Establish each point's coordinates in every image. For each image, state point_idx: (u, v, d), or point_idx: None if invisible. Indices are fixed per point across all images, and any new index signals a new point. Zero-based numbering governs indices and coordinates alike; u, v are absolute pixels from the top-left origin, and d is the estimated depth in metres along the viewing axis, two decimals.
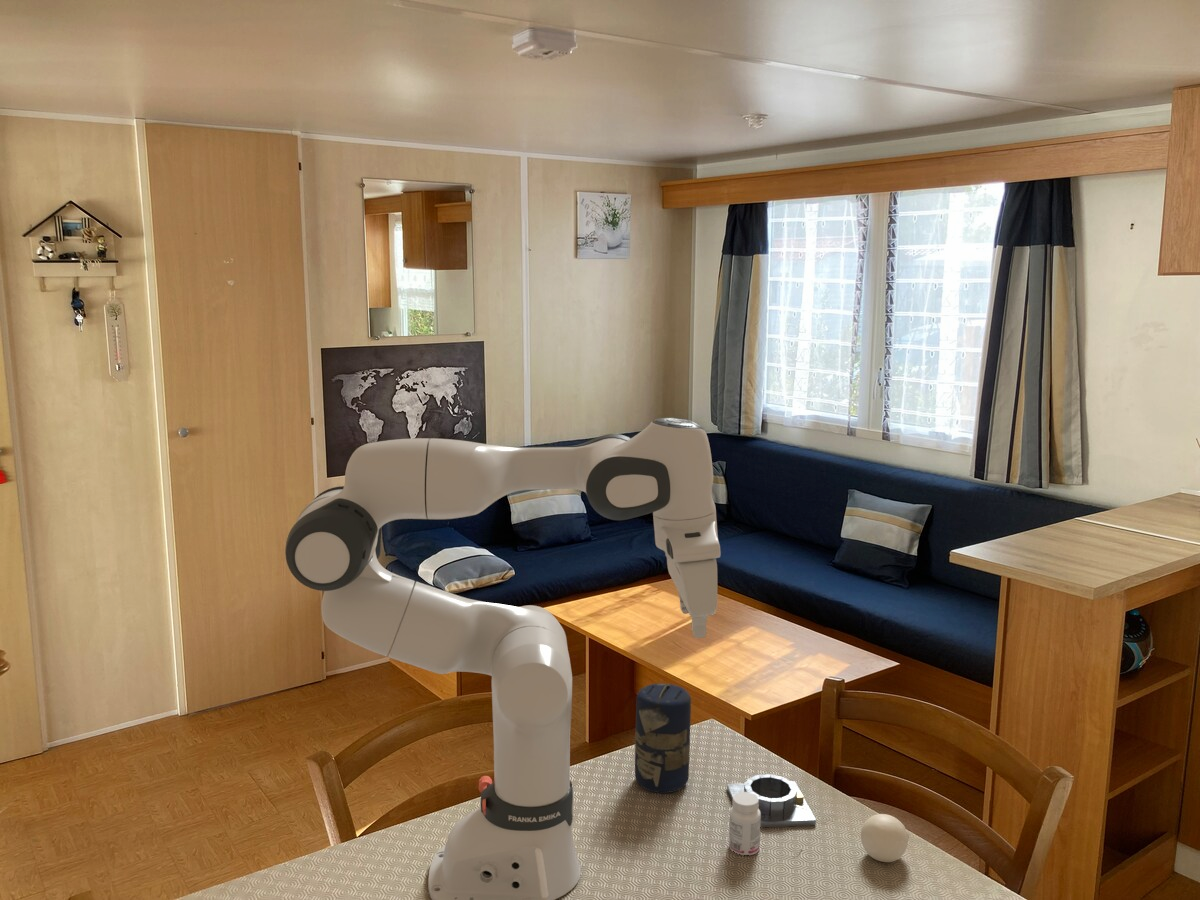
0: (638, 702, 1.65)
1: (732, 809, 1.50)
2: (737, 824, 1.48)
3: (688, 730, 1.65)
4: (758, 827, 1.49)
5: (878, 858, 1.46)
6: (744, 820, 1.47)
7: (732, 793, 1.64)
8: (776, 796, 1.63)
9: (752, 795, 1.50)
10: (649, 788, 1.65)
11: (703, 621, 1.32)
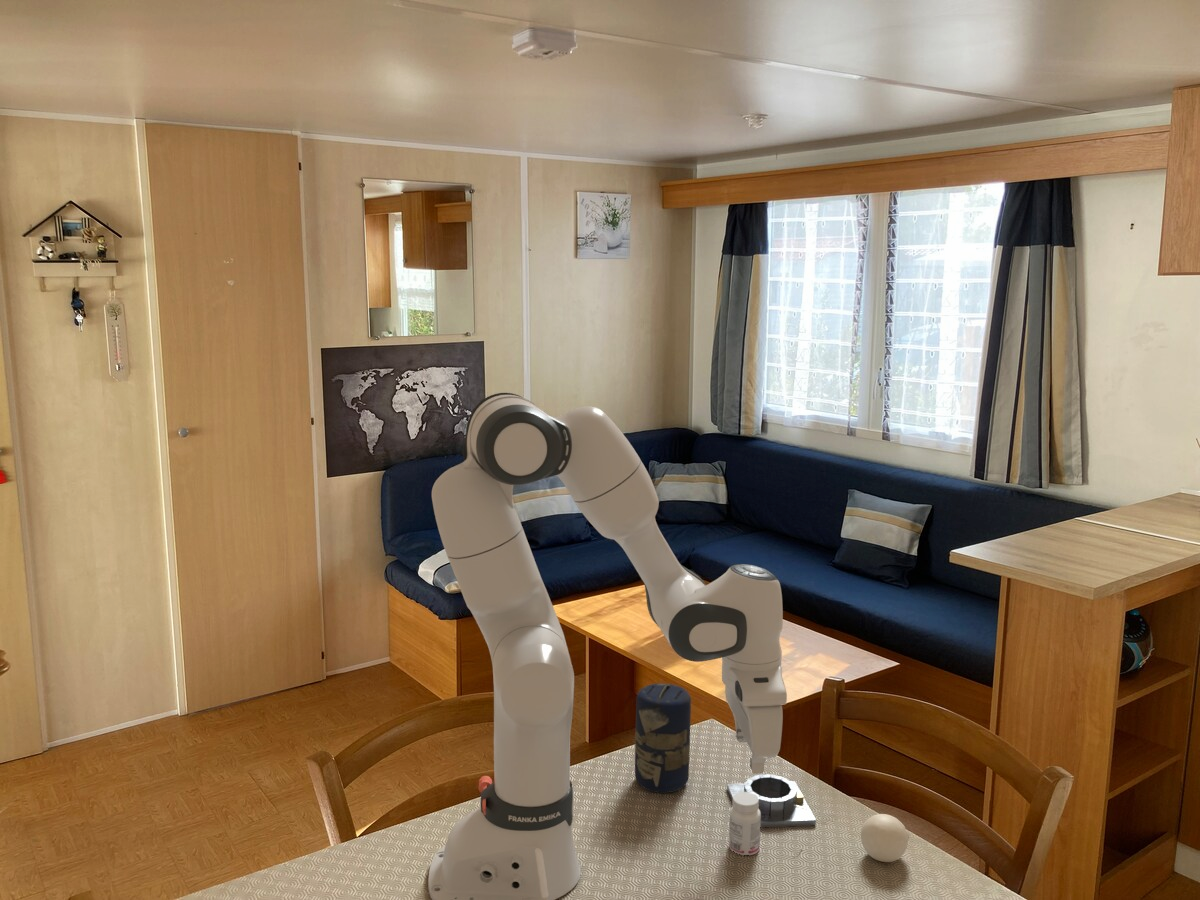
0: (638, 702, 1.65)
1: (732, 809, 1.50)
2: (737, 824, 1.48)
3: (688, 730, 1.65)
4: (758, 827, 1.49)
5: (878, 858, 1.46)
6: (744, 820, 1.47)
7: (732, 793, 1.64)
8: (776, 796, 1.63)
9: (752, 795, 1.50)
10: (649, 788, 1.65)
11: (763, 759, 1.41)
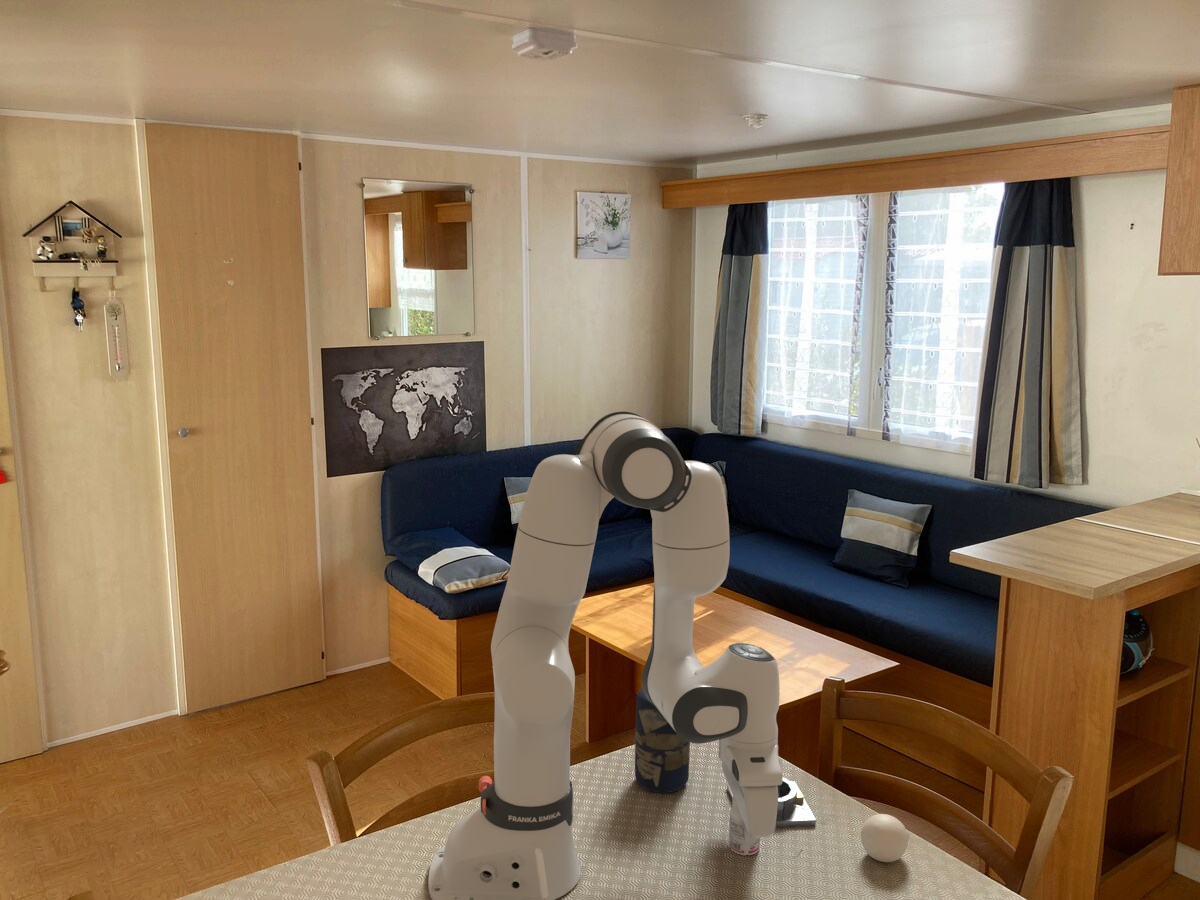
0: (638, 702, 1.65)
1: (732, 809, 1.50)
2: (737, 824, 1.48)
3: None
4: None
5: (878, 858, 1.46)
6: None
7: None
8: None
9: None
10: (649, 788, 1.65)
11: None
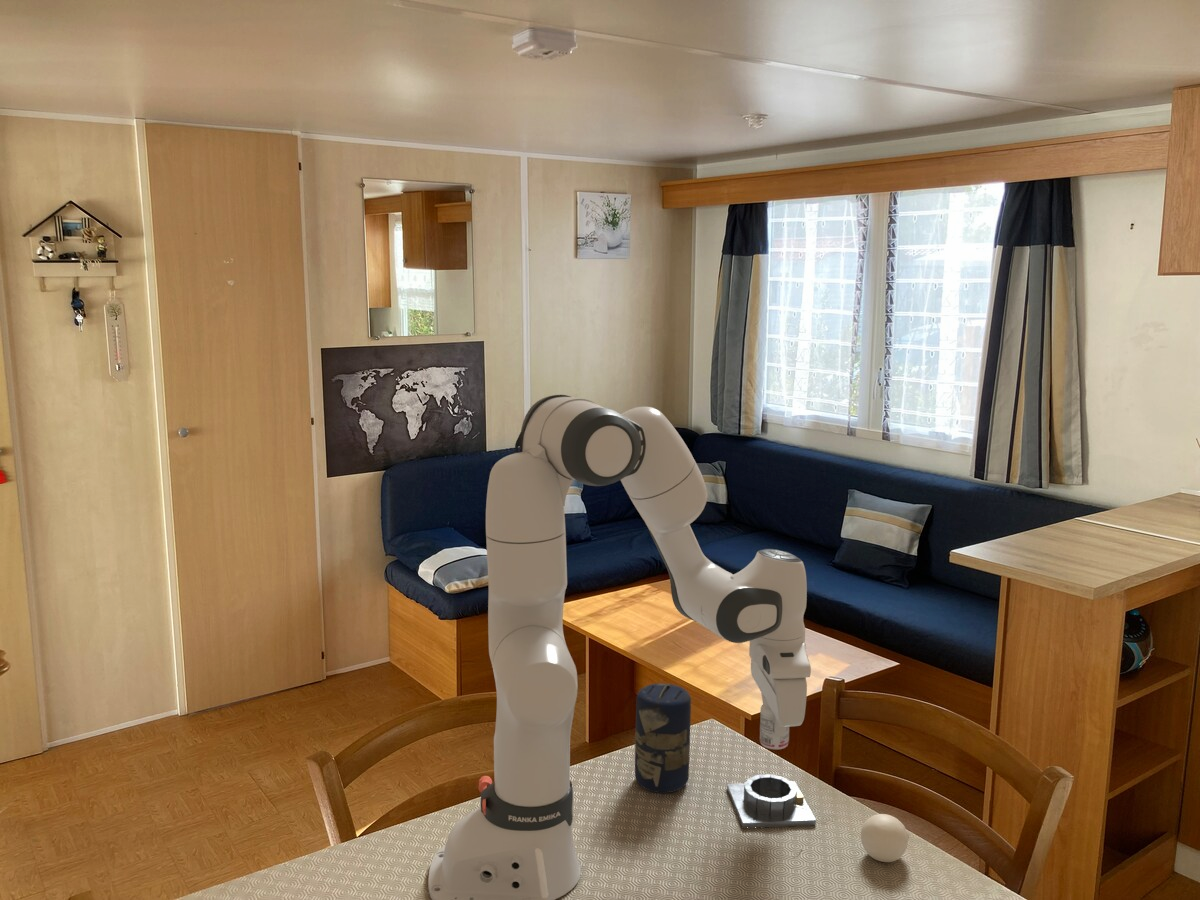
0: (638, 702, 1.65)
1: (762, 706, 1.59)
2: (768, 719, 1.57)
3: (688, 730, 1.65)
4: None
5: (878, 858, 1.46)
6: None
7: (732, 793, 1.64)
8: (776, 796, 1.63)
9: None
10: (649, 788, 1.65)
11: None
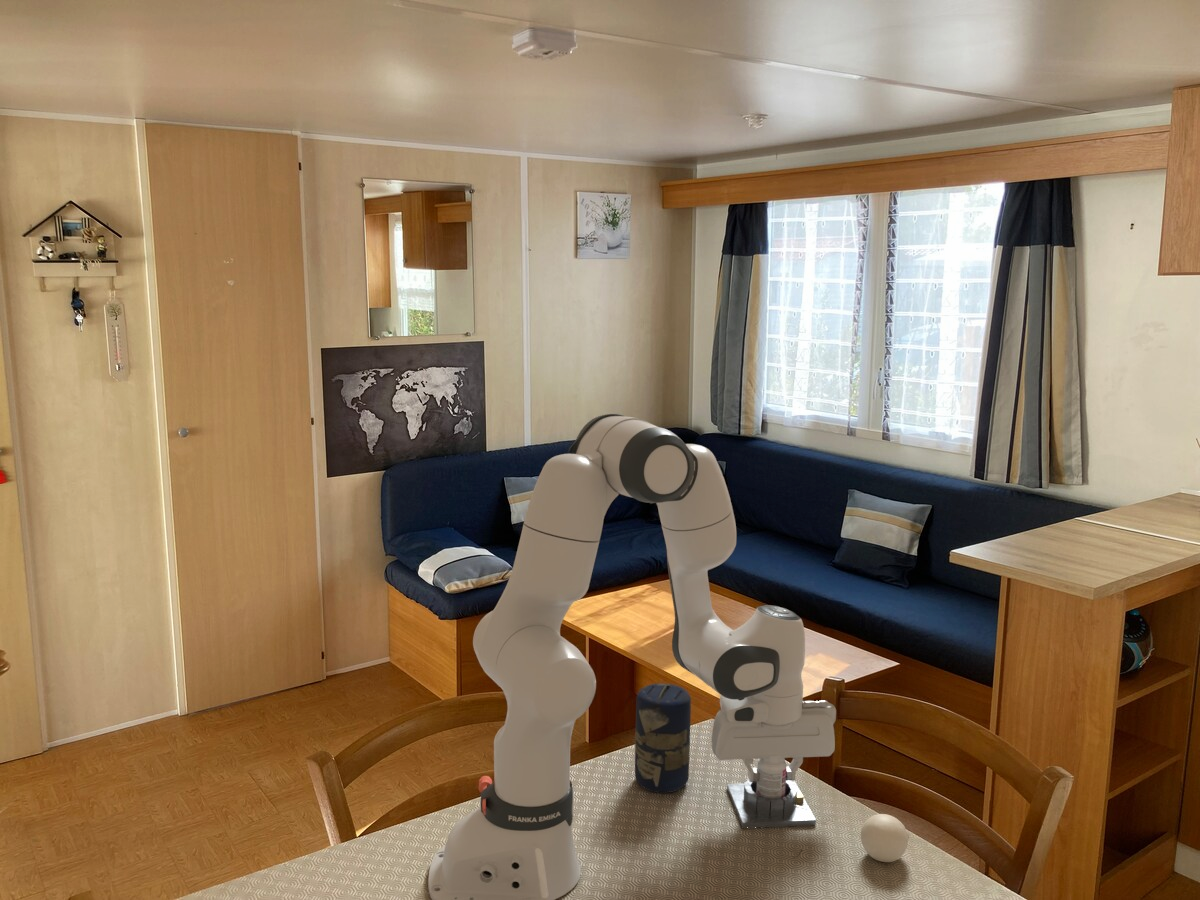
0: (638, 702, 1.65)
1: None
2: None
3: (688, 730, 1.65)
4: (765, 778, 1.59)
5: (878, 858, 1.46)
6: (758, 761, 1.61)
7: (732, 793, 1.64)
8: None
9: None
10: (649, 788, 1.65)
11: None
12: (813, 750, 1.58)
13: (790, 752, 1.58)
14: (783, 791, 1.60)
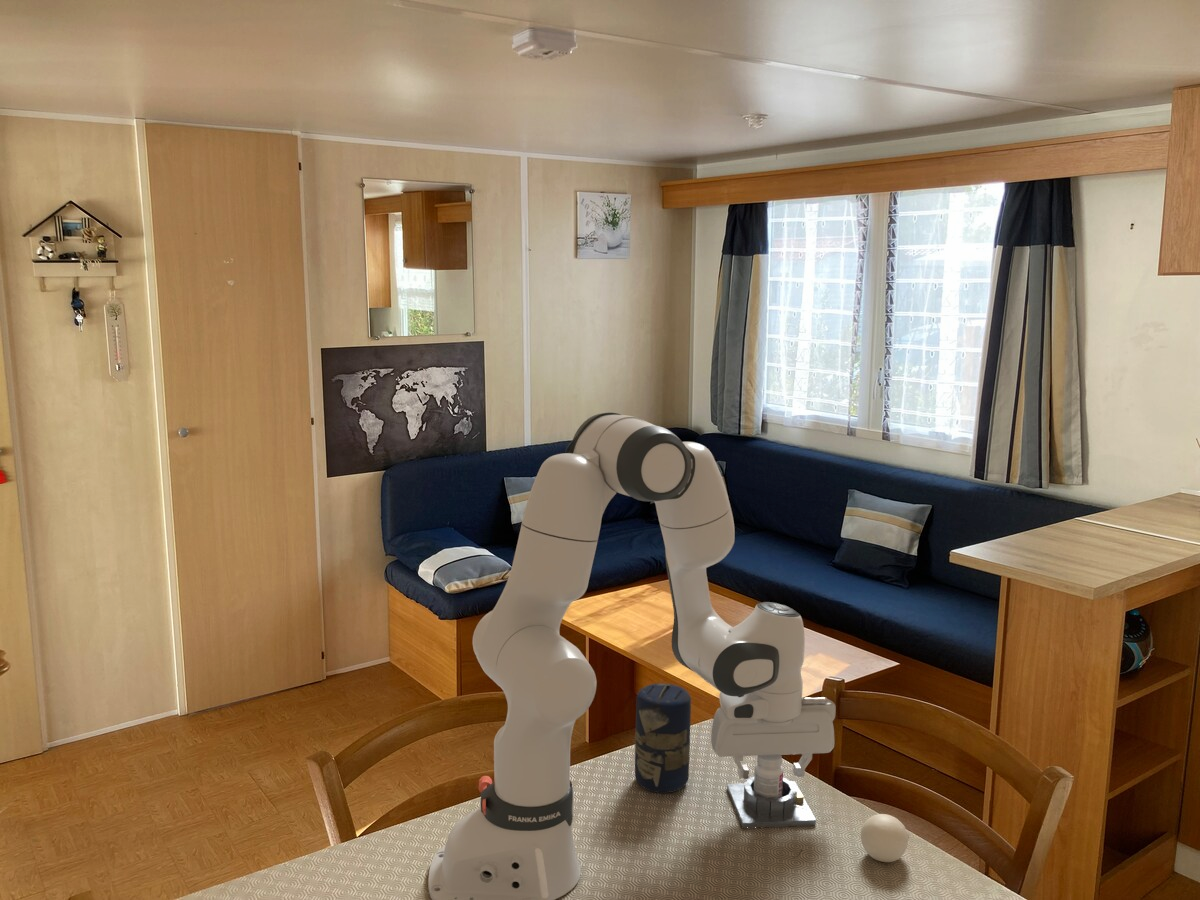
0: (638, 702, 1.65)
1: None
2: None
3: (688, 730, 1.65)
4: (762, 783, 1.59)
5: (878, 858, 1.46)
6: None
7: (732, 793, 1.64)
8: None
9: (775, 758, 1.59)
10: (649, 788, 1.65)
11: (736, 764, 1.59)
12: (813, 747, 1.59)
13: (790, 749, 1.58)
14: (780, 796, 1.60)
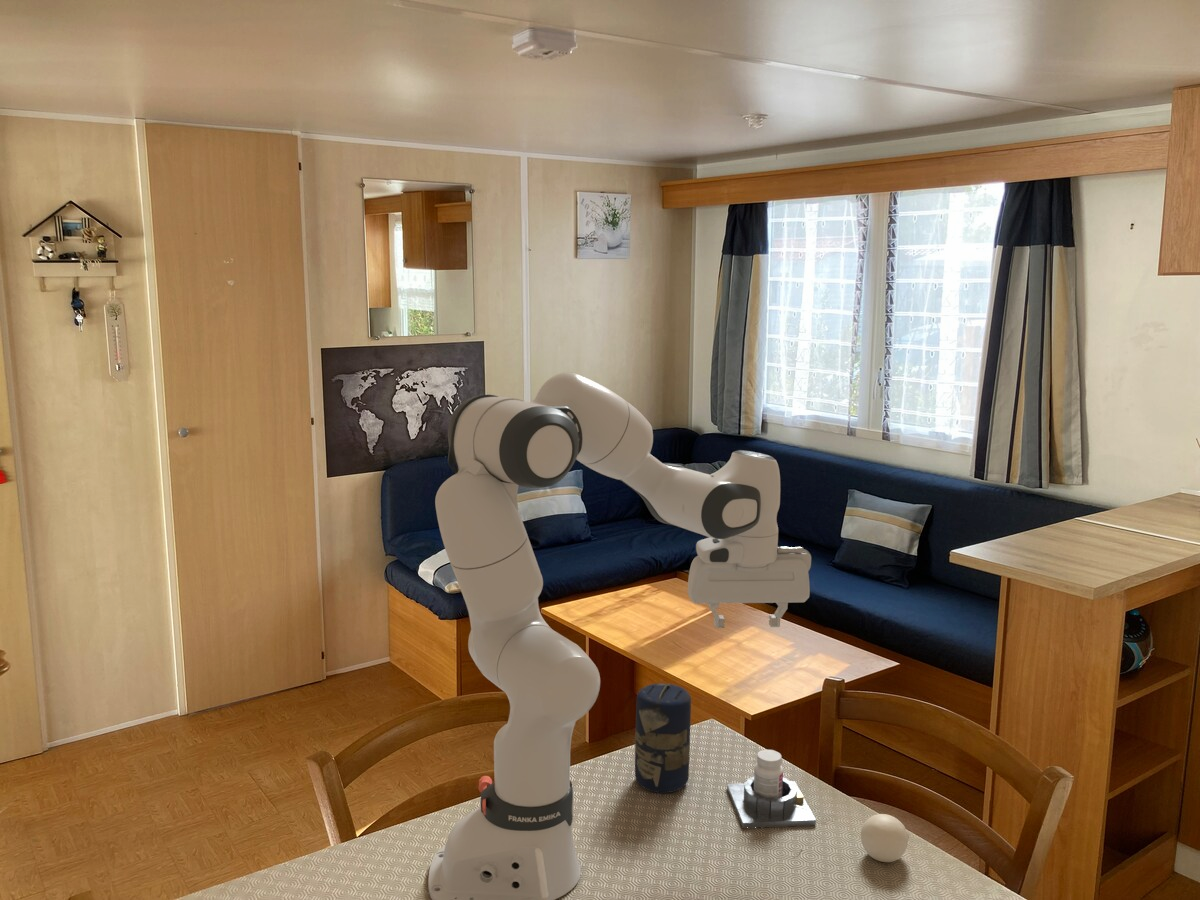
0: (638, 702, 1.65)
1: None
2: None
3: (688, 730, 1.65)
4: (761, 783, 1.59)
5: (878, 858, 1.46)
6: None
7: (732, 793, 1.64)
8: None
9: (775, 758, 1.59)
10: (649, 788, 1.65)
11: None
12: (788, 595, 1.60)
13: (765, 597, 1.60)
14: (780, 796, 1.60)
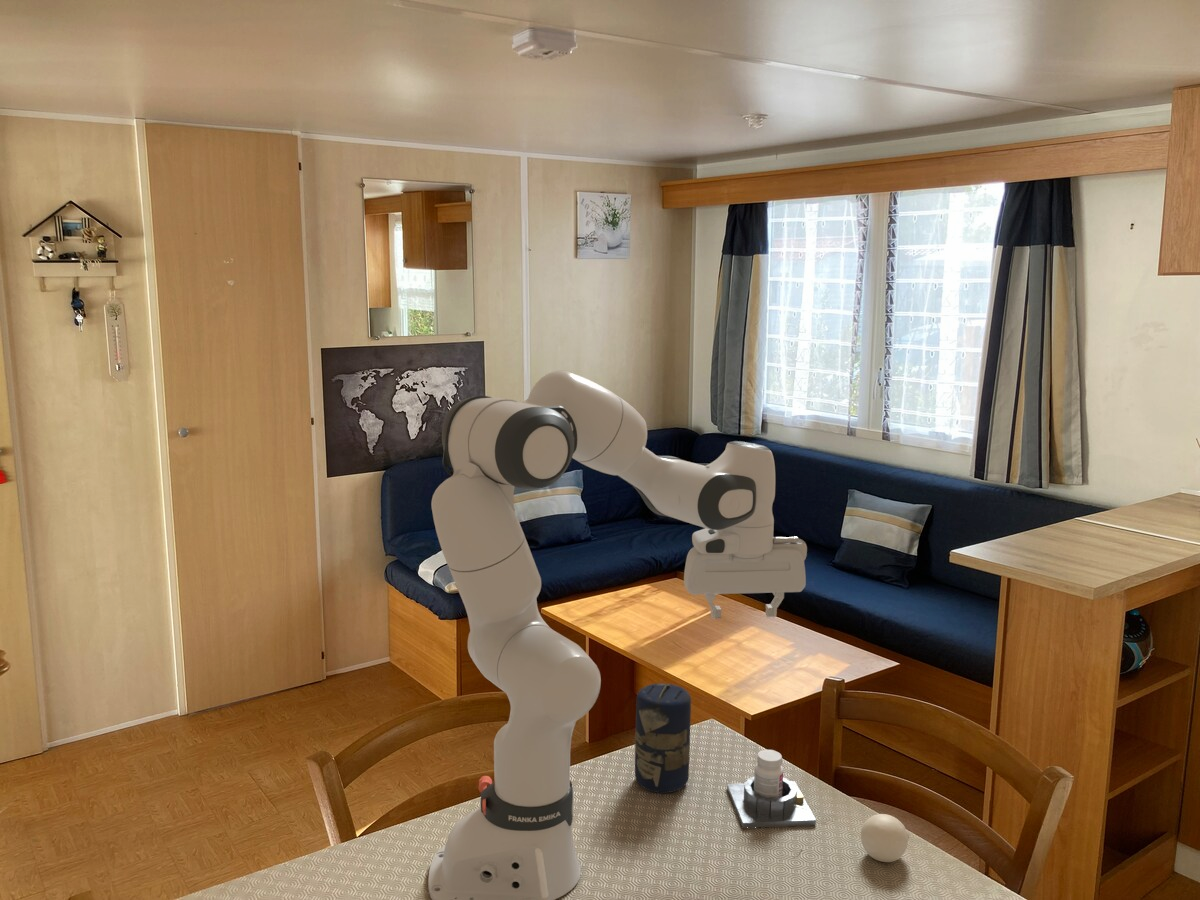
0: (638, 702, 1.65)
1: None
2: None
3: (688, 730, 1.65)
4: (762, 783, 1.59)
5: (878, 858, 1.46)
6: (755, 766, 1.61)
7: (732, 793, 1.64)
8: None
9: (775, 758, 1.59)
10: (649, 788, 1.65)
11: (709, 604, 1.61)
12: (784, 585, 1.60)
13: (761, 587, 1.60)
14: (780, 796, 1.60)
